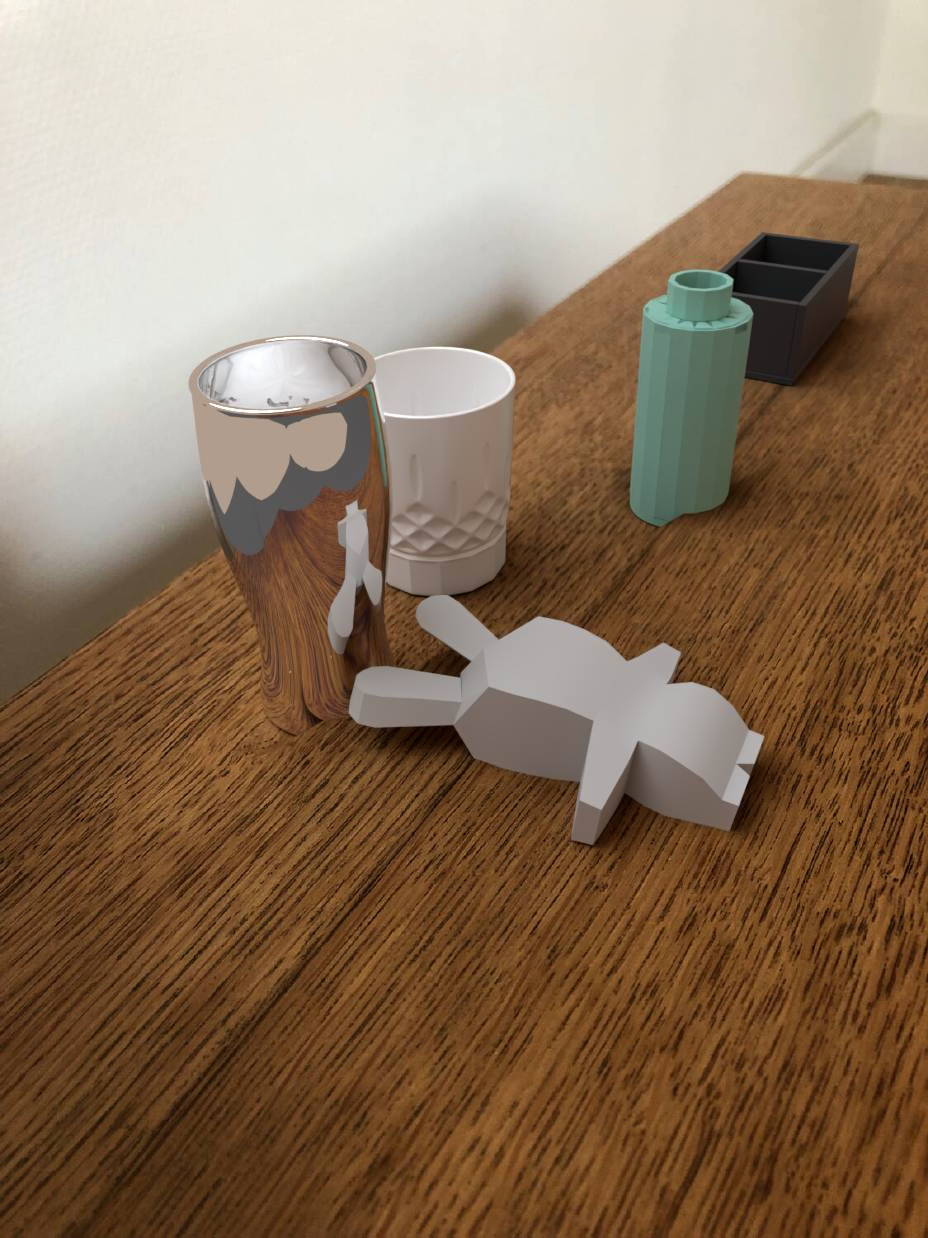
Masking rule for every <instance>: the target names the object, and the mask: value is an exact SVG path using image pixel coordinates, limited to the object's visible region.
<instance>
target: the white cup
mask: <svg viewBox="0 0 928 1238" xmlns="http://www.w3.org/2000/svg"><path fill="white" fill-rule="evenodd" d="M373 358H374V359H375V362H376V373H377V380H378V385H379V391H380V396H381V401H382V406H383V412H384V418H385V423H386V429H387V435H388V443H389V451H390V459H391V468H392V486H393V514H392V533H391V543H390V553H389V563H388V572H387V580H386V584H387V585H389V586H390V587H393V588H396V589H398V590H400V591H403V592H405V593H408V594H410V595H414V596H423V597H430V596H432V595H448V596H455V595H460V594H466V593H470V592H473V591H474V590H476V589H478V588H480V587H482V586H485V584H488V583H490V582H491V581H493V580H494V579H495V578H496V576H497V575H498V573H499V572H500V571H501V569H502V568H503V567H504V565H505V563H506V550H507V549H506V548H507V519H508V514H509V511H510V503H511V486H512V485H511V484H512V473H513V457H514V434H515V433H514V431H515V426H514V425H515V405H516V404H515V403H516V381H517V379H516V378H517V377H516V373H515V372H514V370H513V369H512V367H511V366H510V365H509V364H508V363H507V362H505V361H504V360H502V359H500V358H498V357H497V356H494V355H492V354H490V353H486V352H482V351H479V350H476V349H471V348H465V347H456V346H455V347H454V346H423V347H422V346H421V347H412V348H405V349H400V350H395V351H391V352H387V353H385V354H384V353H383V354H381V355H378V356H376V357H373Z"/></svg>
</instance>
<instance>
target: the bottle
mask: <svg viewBox="0 0 928 1238" xmlns="http://www.w3.org/2000/svg"><path fill="white" fill-rule="evenodd" d="M733 281H734V280H733V279H732V278H731V277H730V276H728V275H727V274H724V273H721V272H718V271H716V270H711V269H688V270H687V269H686V270H681V271H678V272H675V273H673V274H671V275H670V276H669V278H668V280H667V292H666V294H663V295H660V296H658V297H655V298H652V299H650V300H649V301H647V302H646V304H645V305H644V306H643V308H642V320H641V333H640V334H641V335H640V346H639V347H640V348H639V360H638V372H637V373H638V374H637V387H636V401H635V402H636V403H635V415H634V428H633V429H634V430H633V441H632V443H633V444H632V456H631V457H632V458H631V470H630V483H629V484H630V485H629V487H630V488H629V506H630V509H631V511H632V513H633V514H634V515H635V516H637V517H638V519H640V520H642V521H644V522H645V523H648V524H650V525H653V526H655V527H659V528H661V527H663V526H665V525H666V524H668V523H670V522H672V521H673V520H675V519H677V518H679V517H680V516H682V515H683V514H698V513H702V512H703V513H704V512H706V511H711V510H713V509H715V508H717V507H718V506H720V505H722V504H723V503H725V501H726V499H727V497H728V495H729V493H730V492H729V491H730V484H731V476H732V470H733V464H734V463H733V462H734V455H735V449H736V442H737V433H738V428H739V427H738V426H739V420H740V413H741V405H742V398H743V391H744V385H745V378H746V377H745V371H746V363H747V356H748V349H749V342H750V335H751V327H752V320H753V312H752V310H751V308H750V306H749V305H747V304H745V303H744V302H742V301H740V300H738V299H735V298H732V289H733Z"/></svg>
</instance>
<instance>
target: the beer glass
mask: <svg viewBox="0 0 928 1238" xmlns="http://www.w3.org/2000/svg"><path fill="white" fill-rule="evenodd" d="M374 358H375V357H374V356H373V355H372V353H371V352H370V351H368V350H367V349H366V348H364V347H363V346H361V345H359V344H357V343H355V342H352V341H349V340H346V339H342V338H338V337H332V336H326V335H316V334H315V335H314V334H313V335H312V334H290V335H289V334H288V335H279V336H271V337H263V338H258V339H253V340H249V341H246V342H245V341H244V342H241V343H238V344H235V345H232V346H229V347H226V348H224V349H222V350H219V351H217V352H215V353H214V354H211V355H210V356H209V357H207V358H205V359H204V360H203V361H201V362H199V363H198V364H197V365H196V367H194V369H193V370H192V371H191V373H190V375H189V378H188V382H187V383H188V384H187V385H188V389H189V390H188V391H189V393H190V399H191V406H192V413H193V423H194V432H195V438H196V439H195V440H196V448H197V454H198V461H199V467H200V472H201V479H202V483H203V488H204V493H205V497H206V498H205V499H206V501H207V506H208V509H209V512H210V517H211V521H212V524H213V527H214V530H215V532H216V535H217V538H218V540H219V543H220V546H221V549H222V552H223V554H224V557H225V559H226V561H227V564H228V566H229V569H230V570H231V573H232V576H233V578H234V580H235V582H236V585H237V587H238V590H239V591H240V593H241V597H242V598H243V601H244V603H245V605H246V606H247V610H248V612H249V614H250V617H251V619H252V622H253V624H254V627H255V631H256V635H257V639H258V642H259V650H260V662H261V664H260V667H261V668H260V700H261V705H262V709H263V711H264V712H265V715H266V716H267V718H268V719H269V721H271V722H272V723H273V725H275V726H276V727H278V728H279V729H281V730H283V731H284V732H286V733H288V734H291V735H293V736H299V735H300V734H302V733H304V732H306V731H309V730H310V729H311V728H313V727H315V726H316V725H318V724H320V723H322V722H323V721H329V720H330V721H331V720H338V719H339V720H340V719H343V718H347V717H351V715H350V714H349V705H350V699H351V695H352V691H353V687H354V683H355V679H356V675H357V674H359V673H360V672H361V671H363V670H365V669H368V668H370V667H379V666H390V667H396V668H398V665H397V662H396V659H395V655H394V653H393V650H392V647H391V644H390V641H389V638H388V632H387V627H386V616H385V614H386V613H385V604H386V603H385V602H386V601H385V600H386V591H387V590H386V589H387V582H386V580H387V572H388V563H389V553H390V543H391V533H392V514H393V486H392V468H391V459H390V451H389V443H388V435H387V429H386V423H385V418H384V412H383V406H382V401H381V396H380V391H379V385H378V380H377V373H376V362H375V359H374Z"/></svg>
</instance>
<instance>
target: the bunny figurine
mask: <svg viewBox="0 0 928 1238" xmlns="http://www.w3.org/2000/svg"><path fill="white" fill-rule="evenodd" d="M414 617H415V619H416V621H417V623H418V624H419V626H420V628H421V629H422V630H423V631H424V632H425V633H426V634H428V635H430V636H432V637H433V638H434V639H436V640H437V641H438V642H440V643H441V644H443V645H445V646H446V647H447V648H449V649H451V650H452V651H454V652H455V653H457V654H458V655H460V656H461V657H462V658H464V659H465V660H467V661H468V662H469V664H468V665H466V667H465V668H463V670H462V671H461V672H460V674H459V677H458V676H451V675H447V674H446V675H445V674H441V673H440V674H439V673H432V672H427V671H420V670H414V669H409V668H402V667H397V668H396V667H390V666H379V667H370V668H368V669H365V670H363V671H361V672H360V673H359V674H357V675H356V679H355V683H354V687H353V691H352V695H351V699H350V705H349V714H350V715H351V716H350V717H351V718H352V719H353V720H354V721H355V722H356V724H358V725H362V726H366V727H370V728H374V729H375V728H401V727H402V728H403V727H405V728H407V727H432V726H453V727H454V728H455V731H456V732H457V733H458V735H459V737H460V739H461V740H462V742H463V743H464V745H465V746H466V748H467V749H468V751H469V753H470V755H471V756H472V758H473V759H475V760H479V761H482V762H485V763H486V764H489V765H492V766H494V767H498V768H501V769H504V770H508V771H511V772H512V771H513V772H517V773H520V774H525V775H529V776H535V777H540V778H544V779H545V778H546V779H550V780H551V779H552V780H557V781H568V782H576V783H579V786H578V791H577V797H576V803H575V810H574V815H573V822H572V827H571V835H570V841H574V842H579V843H583V844H587V845H591V846H593V845H595V843H596V841H597V840H598V838H599V837H600V836H601V834H602V833H603V831H604V829H605V828H606V826H607V825H608V823H609V821H610V820H611V818H612V816H613V815H614V813H615V811H616V810H617V808H618V806H619V804H620V803H621V801H622V798H623V796H625V795H627V796H628V797H630V799H633V800H634V801H636V802H638V803H639V804H641V806H644V807H645V808H647V809H650V810H651V811H653V812H656V813H658V814H660V815H662V816H664V817H668V818H673V819H677V820H679V821H685V822H690V823H693V824H698V825H701V826H708V827H711V828H714V829H718V830H719V829H720V830H721V831H726V832H730V831H731V828H732V825H733V823H734V819H735V817H736V815H737V813H738V810H739V807H740V805H741V801H742V798H743V796H744V794H745V791H746V787H747V785H748V782H749V780H750V777H751V774H752V771H753V768H754V766H755V764H756V761H757V758H758V755H759V752H760V750H761V747H762V745H763V742H764V739H765V735H763V734H761V733H758V732H755V731H753V730H751V729H749V728H748V726H747V724H746V722H744V720H743V718H742V717H741V715H740V713H738V711H737V710H736V708H735V706H734V705H733V704H731V702H730V701H728V700H727V699H726V698H725V697H724V696H723V695H722V694H720V693H719V692H718V691H717V690H716V689H714V688H712V687H708V686H706V685H703V684H699V683H696V682H693V681H689V682H676V683H674V679H675V676H676V673H677V669H678V665H679V662H680V657H681V655H682V652H681V651H679V650H677V649H676V648H674V647H672V646H670V645H668V644H667V643H666V642H662V643H660V644H658V645H656V646H655V647H652V648H651V649H649V650H647V651H646V652H644V653H642V654H641V655H638V656H636V657H634V658H632V659H630V660H626V659H625V658H624V657H623V656H622V654H620V653H619V652H618V651H617V650H616V649H615V648H614V647H613V646H612V644H610V643H609V642H608V641H606V640H605V639H603V638H601V637H600V636H597V635H596V634H594V633H592V632H590V631H588V630H587V629H584V628H583V627H579V626H577V625H574V624H571V623H568V622H566V621H563V620H559V619H555V618H549V617H544V616H539V615H538V616H536V617H534V618H533V619H531V620H530V621H528V622H526V623H525V624H523V625H521V626H520V627H518V628H516V629H515V630H513V631H511V632H510V633H508V634H506V635H504V636H502V637H501V638H499V639H498V637H497V636H495V634H494V633H492V632H491V631H490V630H489V629H488V628H487V627H486V626H485V625H484V624H483V623H482V622H481V621H480V620H478V619H477V618H476V616H475V615H473V614H472V613H471V612H470V611H469V610H468V609H467V608H466V607H465V606H464V605H463V604H462V603H461V602H460V601H458V600H457V599H454V598H453V597H452V596H451V595H449V596H448V595H432V596H428V597H427V598H425V599H423V600H422V601H420V602H419V603H418V606H417V607H416V611H415V616H414ZM624 794H625V795H624Z"/></svg>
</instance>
